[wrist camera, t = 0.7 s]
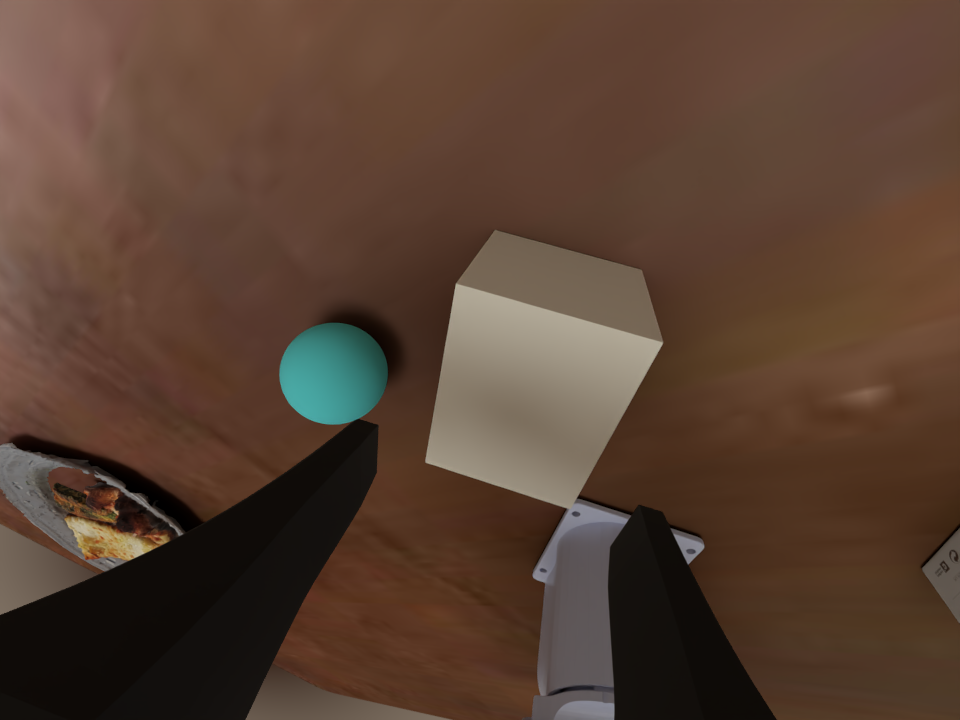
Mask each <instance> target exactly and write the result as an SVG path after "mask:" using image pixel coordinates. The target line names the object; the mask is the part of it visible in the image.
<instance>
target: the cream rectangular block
mask: <svg viewBox="0 0 960 720" xmlns="http://www.w3.org/2000/svg"><path fill="white" fill-rule="evenodd" d="M662 344H663V340H662V336H661V333H660V330H659V326H658V323H657V320H656V316H655V313H654V309H653V306H652V303H651V299H650V296H649V293H648V289H647V286H646V282H645V279H644V276H643V272H642V270H641V269H637V268H633V267H630V266H626V265H622V264H619V263H615V262H611V261H608V260H604V259H600V258H596V257H593V256H589V255H585V254H582V253H578V252H574V251H571V250H567V249H563V248H560V247H556V246H552V245H549V244H545V243H541V242H538V241H534V240H530V239H527V238H523V237H519V236H516V235H512V234H508V233H505V232H501V231H497V230H495V231H494V232H493V233H492V235H491V236H490V238H489V239H488V240H487V242H486V243H485V244H484V246H483V247H482V249H481V250H480V251H479V253H478V254H477V255H476V257H475V258H474V260H473V261H472V262H471V264H470V265H469V266H468V268H467V269H466V271H465V272H464V273H463V275H462V276H461V277H460V279H459V280H458V282H457V283H456V287H455V292H454V298H453V304H452V310H451V315H450V321H449V327H448V333H447V339H446V344H445V350H444V356H443V362H442V368H441V373H440V379H439V385H438V391H437V397H436V402H435V408H434V414H433V420H432V426H431V431H430V437H429V443H428V449H427V455H426V460H425V462H426V463H429V464H432V465H435V466H438V467H441V468H444V469H447V470H450V471H453V472H456V473H459V474H463V475H466V476H469V477H472V478H475V479H478V480H481V481H484V482H487V483H490V484H493V485H496V486H500V487H503V488H506V489H509V490H512V491H515V492H518V493H521V494H524V495H527V496H530V497H533V498H537V499H540V500H543V501H546V502H549V503H552V504H555V505H558V506H561V507H564V508H567V509H571V508H572V506H573V504H574V502H575V500H576V499H577V497H578V495H579V493H580V491H581V490H582V488H583V486H584V484H585V482H586V481H587V479H588V477H589V475H590V473H591V472H592V470H593V468H594V466H595V465H596V463H597V461H598V459H599V457H600V456H601V454H602V452H603V450H604V448H605V447H606V445H607V443H608V441H609V439H610V438H611V436H612V434H613V432H614V430H615V429H616V427H617V425H618V423H619V421H620V420H621V418H622V416H623V414H624V412H625V411H626V409H627V407H628V405H629V404H630V402H631V400H632V398H633V396H634V395H635V393H636V391H637V389H638V387H639V386H640V384H641V382H642V380H643V378H644V377H645V375H646V373H647V371H648V369H649V368H650V366H651V364H652V362H653V360H654V359H655V357H656V355H657V353H658V352H659V350H660V348H661V346H662Z"/></svg>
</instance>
